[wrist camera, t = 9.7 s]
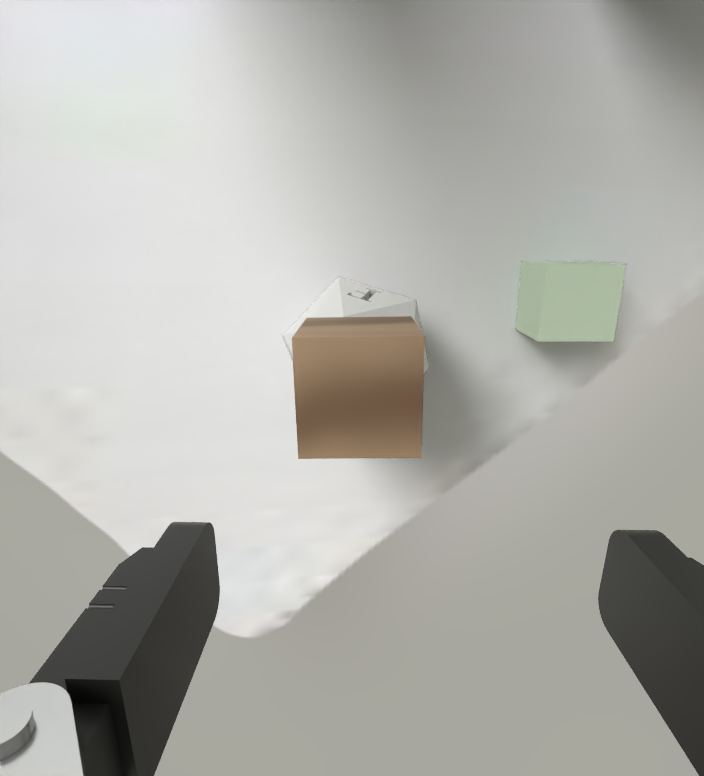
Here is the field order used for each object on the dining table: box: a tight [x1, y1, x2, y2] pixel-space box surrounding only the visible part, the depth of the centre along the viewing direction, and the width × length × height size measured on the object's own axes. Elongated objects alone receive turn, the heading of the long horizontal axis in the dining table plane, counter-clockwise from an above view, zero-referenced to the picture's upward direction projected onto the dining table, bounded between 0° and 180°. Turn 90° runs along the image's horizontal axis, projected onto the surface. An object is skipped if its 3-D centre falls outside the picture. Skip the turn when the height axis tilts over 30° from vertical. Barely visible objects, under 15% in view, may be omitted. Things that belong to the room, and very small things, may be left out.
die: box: [282, 276, 429, 373], centre depth 29 cm, size 8×9×10 cm
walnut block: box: [292, 316, 425, 459], centre depth 23 cm, size 6×6×6 cm
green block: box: [515, 261, 626, 342], centre depth 29 cm, size 4×4×4 cm
